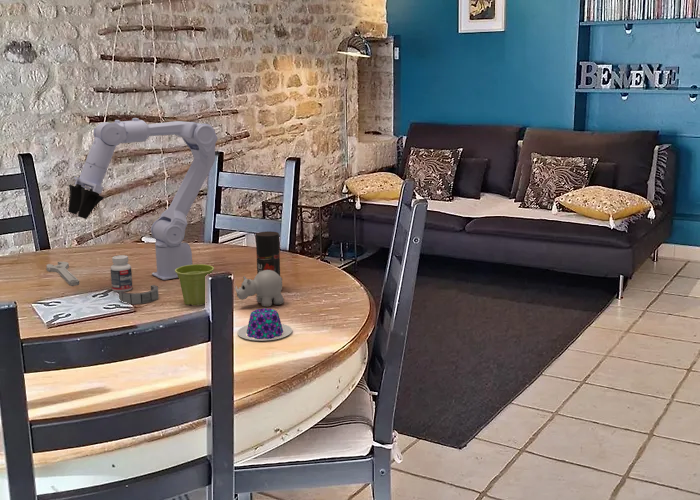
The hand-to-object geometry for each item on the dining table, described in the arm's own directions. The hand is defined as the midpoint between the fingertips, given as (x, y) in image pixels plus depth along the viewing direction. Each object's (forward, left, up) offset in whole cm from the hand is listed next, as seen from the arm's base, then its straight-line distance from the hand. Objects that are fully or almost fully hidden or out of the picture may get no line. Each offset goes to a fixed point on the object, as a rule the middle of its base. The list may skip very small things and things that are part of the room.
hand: (77, 215), depth 205 cm
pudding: (-19, +60, -21) cm, 66 cm away
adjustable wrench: (-1, -19, -21) cm, 28 cm away
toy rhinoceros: (-29, +41, -20) cm, 54 cm away
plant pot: (-18, +29, -20) cm, 40 cm away
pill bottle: (-8, +6, -20) cm, 23 cm away
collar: (-8, +19, -20) cm, 29 cm away
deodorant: (-38, +31, -20) cm, 53 cm away
